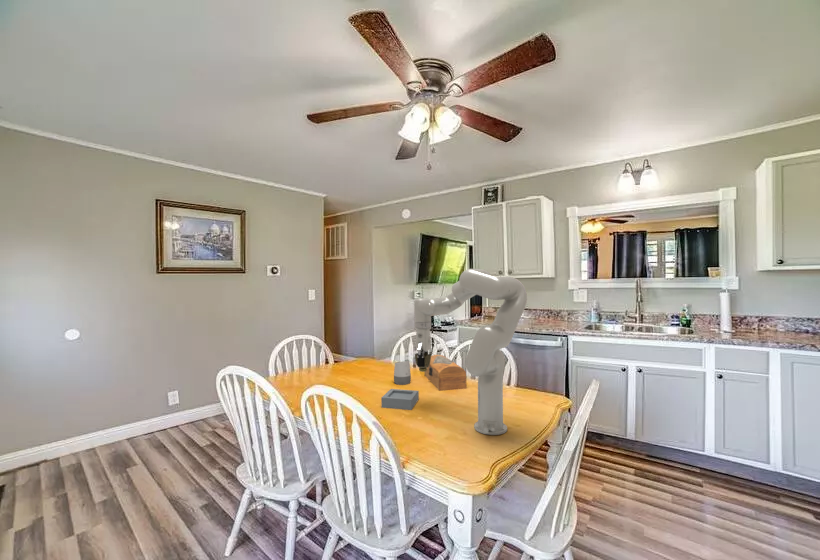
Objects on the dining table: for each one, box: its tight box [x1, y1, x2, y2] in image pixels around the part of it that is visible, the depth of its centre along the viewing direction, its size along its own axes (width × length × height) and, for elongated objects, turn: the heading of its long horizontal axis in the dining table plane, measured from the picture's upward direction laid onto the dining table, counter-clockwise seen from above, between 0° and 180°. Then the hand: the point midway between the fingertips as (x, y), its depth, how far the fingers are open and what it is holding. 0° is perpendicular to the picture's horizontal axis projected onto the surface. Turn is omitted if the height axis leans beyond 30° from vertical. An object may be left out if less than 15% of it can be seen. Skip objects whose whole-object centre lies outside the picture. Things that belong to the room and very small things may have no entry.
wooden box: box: [423, 354, 467, 392], centre depth 206 cm, size 30×16×14 cm, turn 12°
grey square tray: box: [380, 388, 420, 411], centre depth 173 cm, size 14×14×5 cm
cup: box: [414, 352, 432, 373], centre depth 167 cm, size 8×7×8 cm
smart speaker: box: [393, 360, 412, 386], centre depth 205 cm, size 10×9×14 cm
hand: (423, 364), depth 168 cm, fingers closed on cup, 7 cm apart
